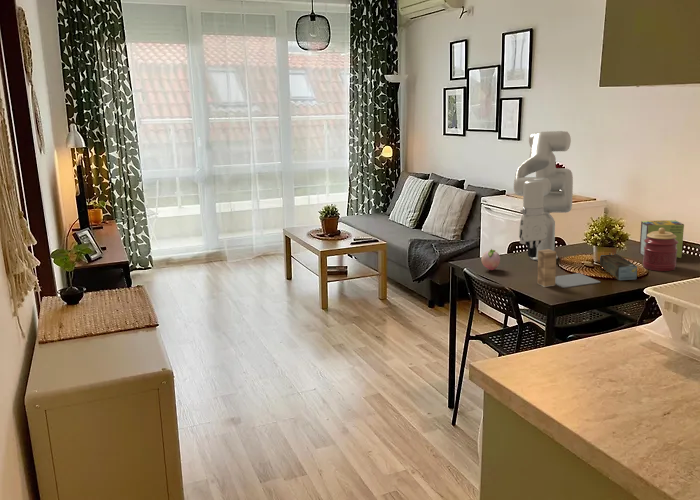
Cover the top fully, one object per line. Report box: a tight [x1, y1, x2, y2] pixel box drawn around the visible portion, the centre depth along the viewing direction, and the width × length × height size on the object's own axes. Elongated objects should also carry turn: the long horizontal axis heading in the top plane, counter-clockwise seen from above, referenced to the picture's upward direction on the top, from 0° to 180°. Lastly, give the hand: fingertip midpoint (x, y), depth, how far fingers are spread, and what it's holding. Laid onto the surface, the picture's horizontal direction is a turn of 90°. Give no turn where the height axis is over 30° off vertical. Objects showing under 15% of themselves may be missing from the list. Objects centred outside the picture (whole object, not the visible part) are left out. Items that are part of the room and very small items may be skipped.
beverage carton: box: [599, 253, 638, 281], centre depth 249 cm, size 8×19×7 cm, turn 179°
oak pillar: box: [537, 249, 557, 288], centre depth 238 cm, size 5×5×14 cm
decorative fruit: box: [480, 248, 501, 271], centre depth 263 cm, size 9×8×10 cm
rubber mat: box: [555, 272, 601, 289], centre depth 243 cm, size 14×18×1 cm
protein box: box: [638, 219, 685, 259], centre depth 272 cm, size 10×15×16 cm
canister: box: [642, 228, 678, 272], centre depth 252 cm, size 13×13×18 cm
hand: (532, 256), depth 235 cm, fingers closed
